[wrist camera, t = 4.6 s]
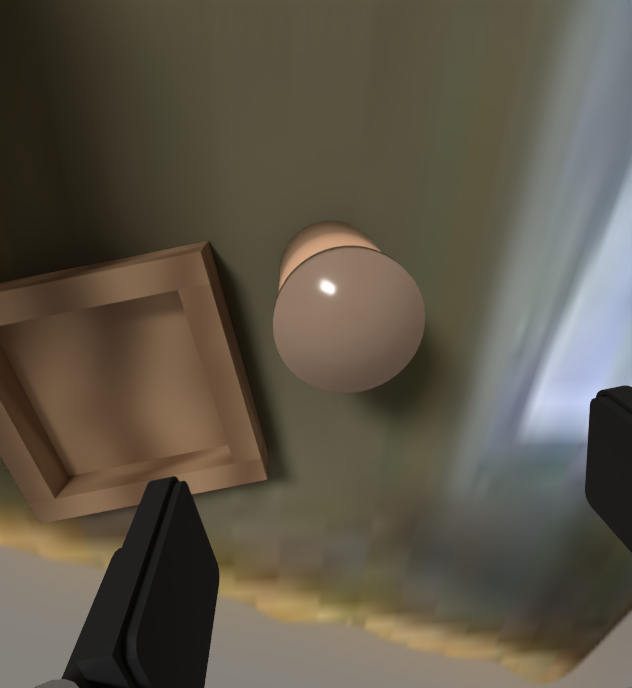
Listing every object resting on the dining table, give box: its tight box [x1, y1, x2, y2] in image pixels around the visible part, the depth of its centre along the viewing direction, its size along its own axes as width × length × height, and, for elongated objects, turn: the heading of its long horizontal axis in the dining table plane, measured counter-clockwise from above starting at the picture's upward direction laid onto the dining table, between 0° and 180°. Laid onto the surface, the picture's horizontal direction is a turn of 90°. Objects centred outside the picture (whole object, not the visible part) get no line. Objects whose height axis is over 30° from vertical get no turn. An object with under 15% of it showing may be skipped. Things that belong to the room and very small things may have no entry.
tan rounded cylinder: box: [273, 221, 425, 393], centre depth 22 cm, size 6×6×8 cm
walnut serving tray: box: [0, 241, 268, 524], centre depth 26 cm, size 14×14×3 cm
